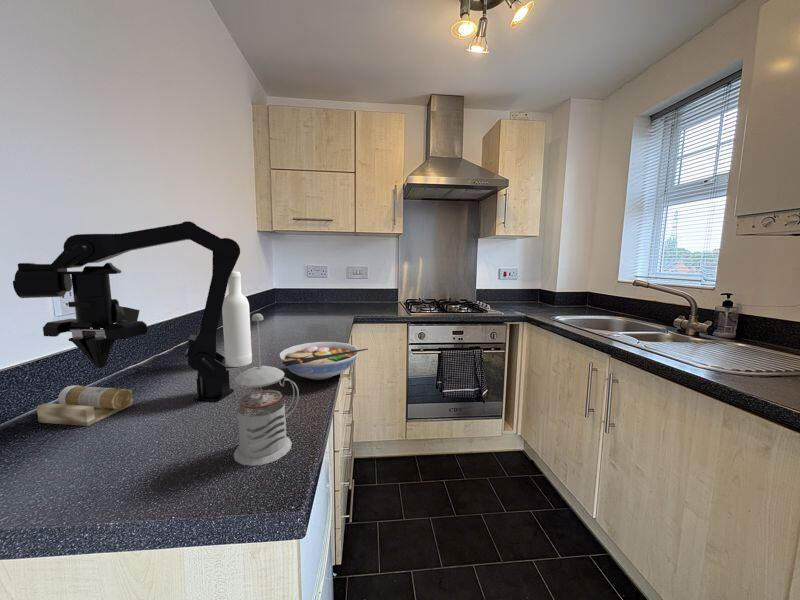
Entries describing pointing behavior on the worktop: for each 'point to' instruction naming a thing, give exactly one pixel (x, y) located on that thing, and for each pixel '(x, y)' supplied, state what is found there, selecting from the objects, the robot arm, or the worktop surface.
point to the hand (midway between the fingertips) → (100, 367)
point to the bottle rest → (73, 413)
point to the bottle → (236, 324)
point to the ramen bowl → (319, 359)
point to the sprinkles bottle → (95, 397)
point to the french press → (262, 415)
